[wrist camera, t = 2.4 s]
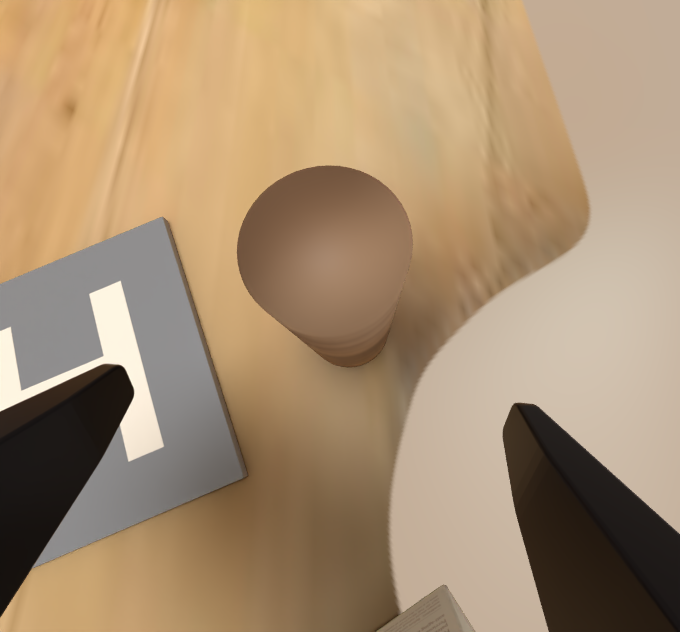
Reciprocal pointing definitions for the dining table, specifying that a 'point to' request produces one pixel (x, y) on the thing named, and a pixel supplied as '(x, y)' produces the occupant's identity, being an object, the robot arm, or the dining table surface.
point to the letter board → (142, 368)
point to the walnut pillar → (328, 259)
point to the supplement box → (431, 615)
